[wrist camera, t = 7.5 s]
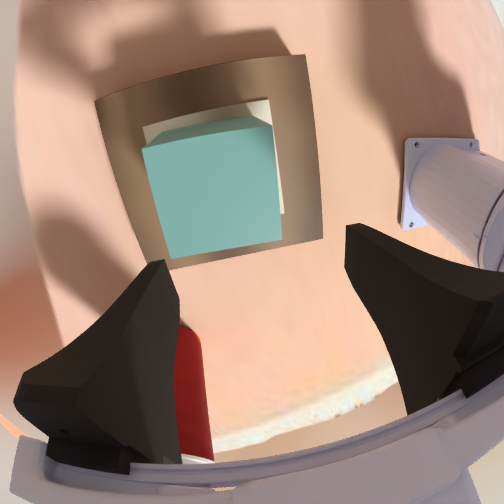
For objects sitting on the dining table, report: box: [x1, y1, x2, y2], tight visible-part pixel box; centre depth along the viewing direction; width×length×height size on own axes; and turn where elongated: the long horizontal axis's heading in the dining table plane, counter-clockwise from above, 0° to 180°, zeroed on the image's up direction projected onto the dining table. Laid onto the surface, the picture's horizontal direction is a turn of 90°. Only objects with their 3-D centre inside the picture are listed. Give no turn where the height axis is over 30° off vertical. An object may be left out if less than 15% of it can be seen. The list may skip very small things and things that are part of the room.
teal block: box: [142, 116, 282, 259], centre depth 13 cm, size 5×5×5 cm
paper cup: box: [174, 325, 216, 464], centre depth 20 cm, size 8×8×14 cm
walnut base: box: [94, 54, 323, 270], centre depth 17 cm, size 12×12×3 cm
